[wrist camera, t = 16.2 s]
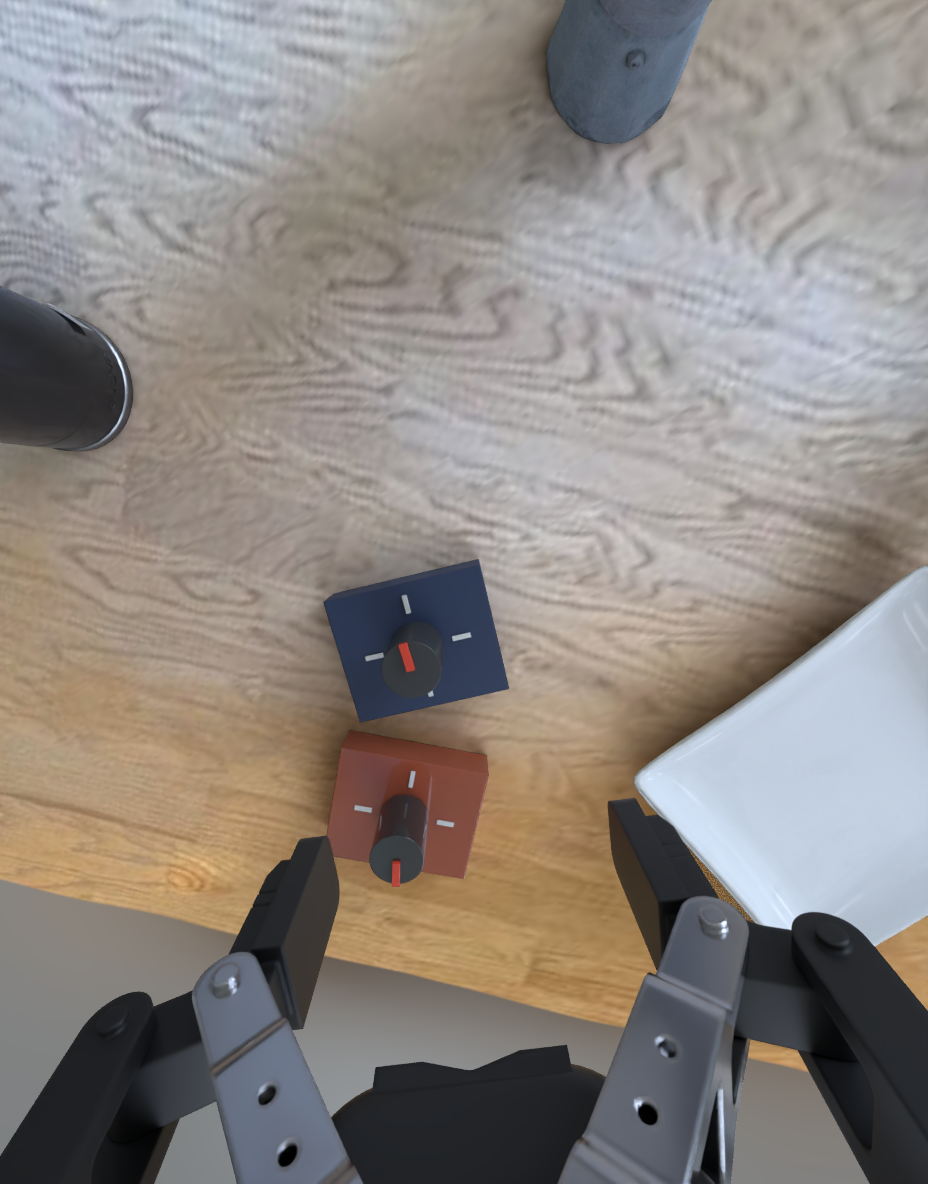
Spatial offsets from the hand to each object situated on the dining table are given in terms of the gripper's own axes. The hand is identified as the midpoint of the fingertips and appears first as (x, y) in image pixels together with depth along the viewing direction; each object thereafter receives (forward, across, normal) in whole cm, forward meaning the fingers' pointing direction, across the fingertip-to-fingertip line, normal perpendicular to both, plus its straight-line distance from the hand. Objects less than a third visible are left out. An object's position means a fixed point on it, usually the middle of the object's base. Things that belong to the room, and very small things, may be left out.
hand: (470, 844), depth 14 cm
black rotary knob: (+24, +4, +2) cm, 24 cm away
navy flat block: (+27, +4, +2) cm, 27 cm away
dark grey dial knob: (+24, +7, +16) cm, 30 cm away
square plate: (+27, -30, +19) cm, 45 cm away
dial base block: (+27, +7, +16) cm, 32 cm away
